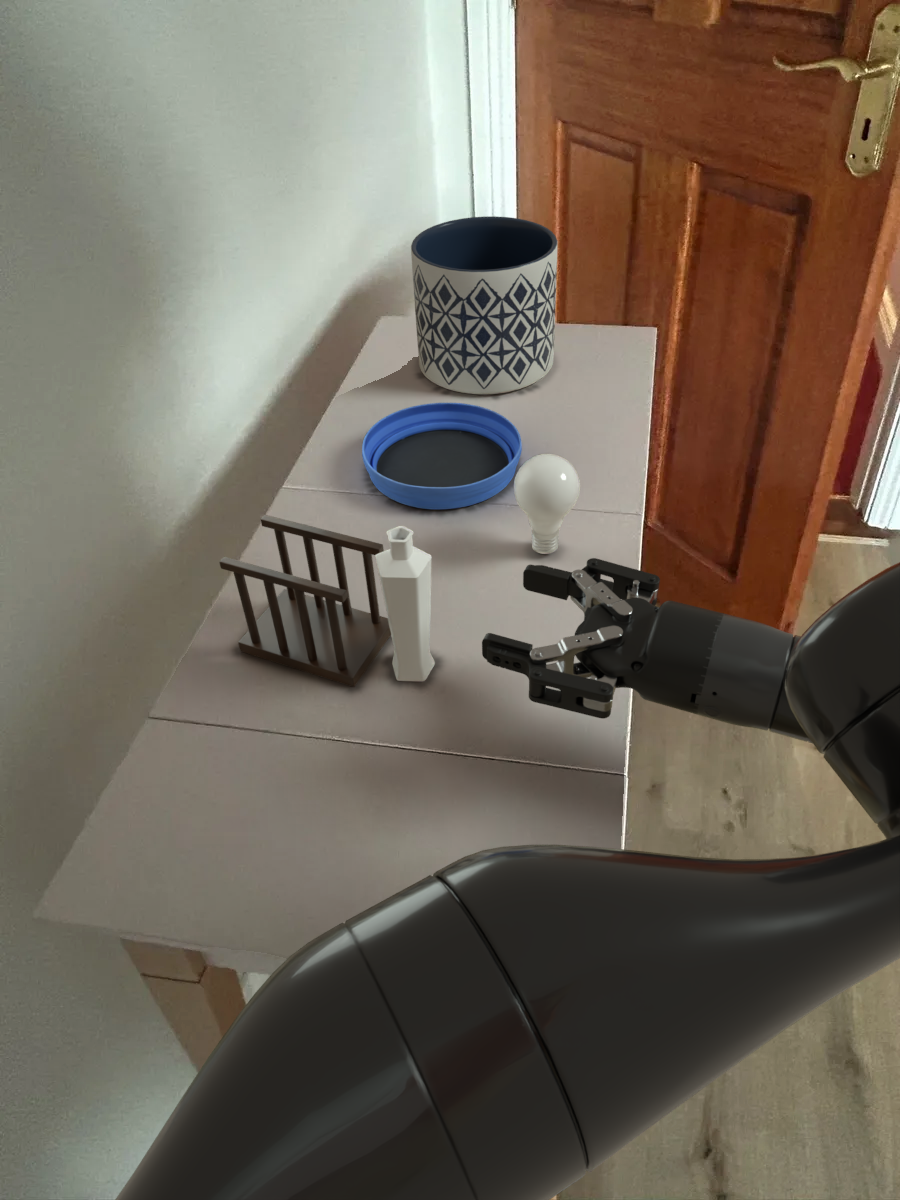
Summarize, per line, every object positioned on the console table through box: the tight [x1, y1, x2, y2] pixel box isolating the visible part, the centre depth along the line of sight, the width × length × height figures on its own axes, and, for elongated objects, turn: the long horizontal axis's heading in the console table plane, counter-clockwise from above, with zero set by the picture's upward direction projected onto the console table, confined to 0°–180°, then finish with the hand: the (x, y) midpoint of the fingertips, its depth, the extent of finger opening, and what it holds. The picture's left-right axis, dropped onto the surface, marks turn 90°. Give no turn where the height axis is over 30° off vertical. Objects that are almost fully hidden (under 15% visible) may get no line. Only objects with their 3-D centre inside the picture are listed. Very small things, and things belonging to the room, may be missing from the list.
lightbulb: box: [513, 453, 581, 555], centre depth 89 cm, size 6×6×11 cm
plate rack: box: [219, 514, 391, 688], centre depth 81 cm, size 12×8×10 cm, turn 66°
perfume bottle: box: [374, 525, 436, 682], centre depth 76 cm, size 5×4×15 cm
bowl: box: [361, 402, 523, 510], centre depth 104 cm, size 18×18×4 cm
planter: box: [410, 215, 559, 395], centre depth 118 cm, size 18×18×16 cm
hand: (504, 609), depth 71 cm, fingers open, 8 cm apart
